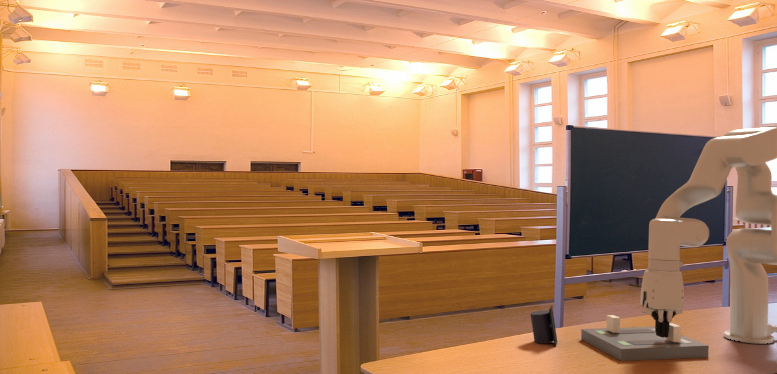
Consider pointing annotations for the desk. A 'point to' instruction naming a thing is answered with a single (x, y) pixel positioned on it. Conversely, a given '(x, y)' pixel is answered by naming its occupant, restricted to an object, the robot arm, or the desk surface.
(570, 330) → the desk surface
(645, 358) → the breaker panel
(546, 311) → the speaker
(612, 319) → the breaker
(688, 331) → the desk surface
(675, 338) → the block
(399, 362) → the desk surface
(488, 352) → the desk surface
